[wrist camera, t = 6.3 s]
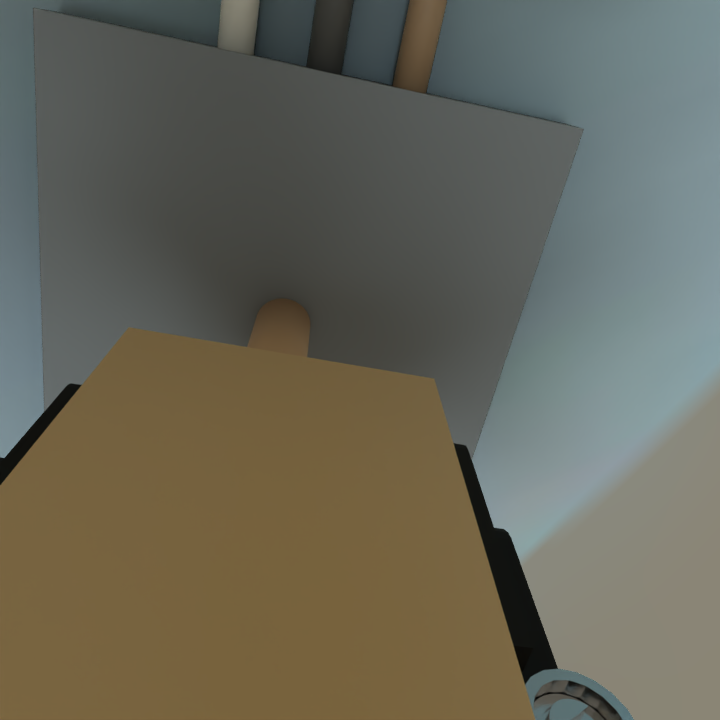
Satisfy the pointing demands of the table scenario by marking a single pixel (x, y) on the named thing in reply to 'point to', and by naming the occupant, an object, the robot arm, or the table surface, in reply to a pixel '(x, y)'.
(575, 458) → the table surface
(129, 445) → the cube with round knob
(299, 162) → the junction plate
